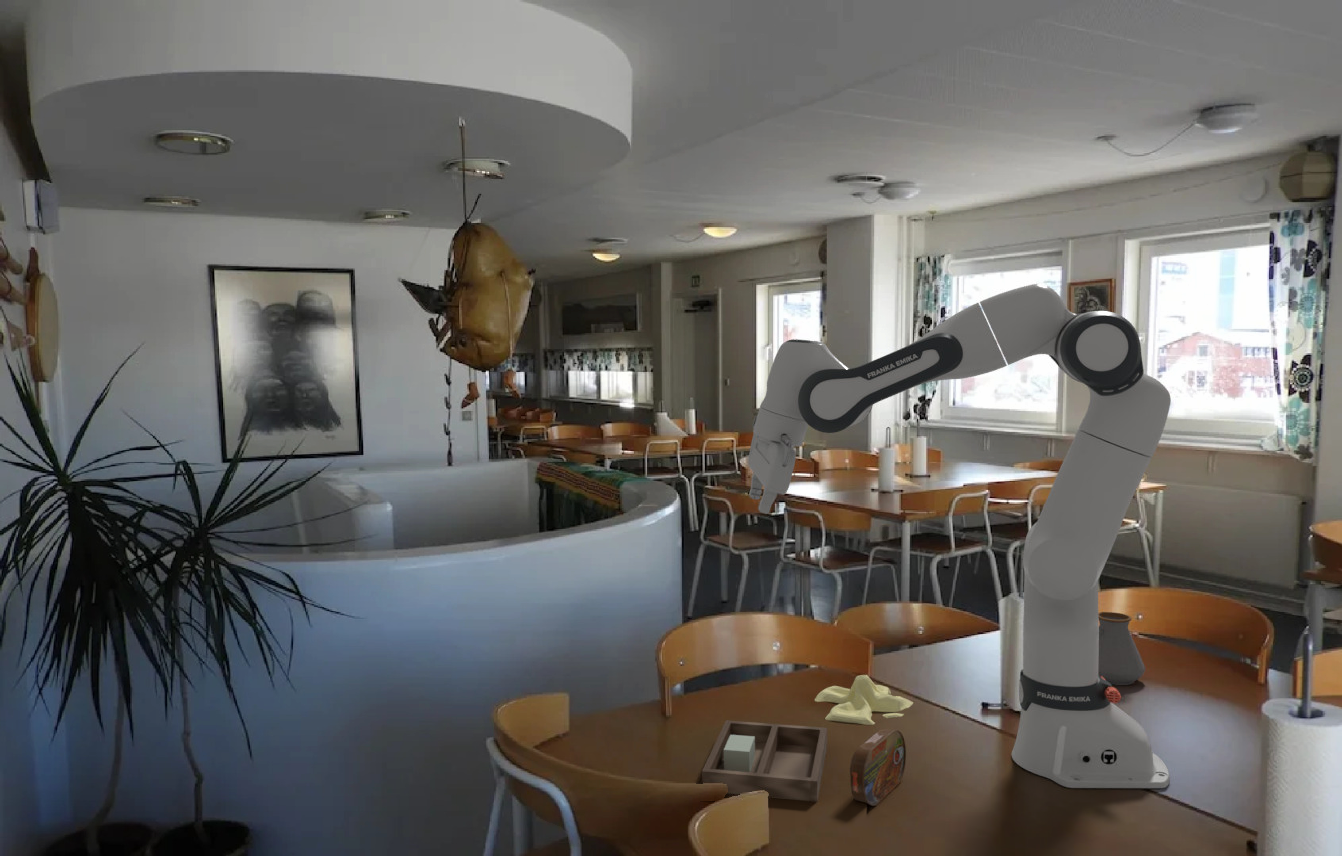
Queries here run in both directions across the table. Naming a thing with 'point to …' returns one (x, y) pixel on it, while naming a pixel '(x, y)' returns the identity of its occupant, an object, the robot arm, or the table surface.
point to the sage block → (739, 753)
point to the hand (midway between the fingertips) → (758, 504)
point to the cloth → (862, 701)
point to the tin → (877, 766)
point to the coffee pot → (1118, 650)
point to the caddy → (773, 760)
